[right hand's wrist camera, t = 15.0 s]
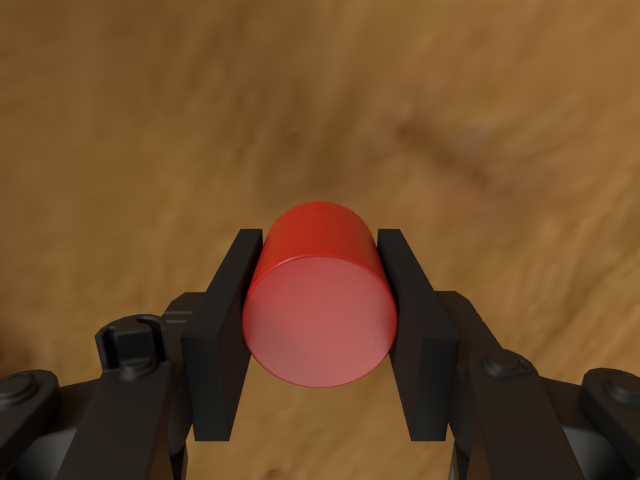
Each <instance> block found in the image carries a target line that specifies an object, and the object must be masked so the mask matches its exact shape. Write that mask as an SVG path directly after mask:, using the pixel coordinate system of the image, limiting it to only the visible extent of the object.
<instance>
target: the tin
mask: <svg viewBox="0 0 640 480" xmlns="http://www.w3.org/2000/svg"><path fill="white" fill-rule="evenodd" d="M241 320H242V332H243V337H244V340H245V342H246V344H247V347H248V349H249V350H250V352H251V354H252V355H253V357H254V358H255V359H256V360H257V362H258V363H259V364H260V365H261V366H262V367H263V368H265V369H266V370H267V371H268V372H270V373H271V374H273V375H274V376H276V377H278V378H280V379H282V380H284V381H286V382H289V383H292V384H295V385H299V386H304V387H312V388H327V387H335V386H340V385H344V384H347V383H350V382H353V381H355V380H357V379H360V378H361V377H363V376H365V375H366V374H368V373H369V372H371V371H372V370H373V369H375V368H376V367H377V366H378V365H379V364H380V363H381V362H382V361H383V359H384V358H385V357H386V356H387V354H388V353H389V351H390V349H391V347H392V345H393V343H394V340H395V338H396V334H397V329H398V311H397V306H396V302H395V299H394V296H393V293H392V291H391V288H390V285H389V282H388V279H387V276H386V273H385V270H384V267H383V264H382V262H381V259H380V256H379V253H378V250H377V247H376V244H375V241H374V239H373V236H372V233H371V231H370V230H369V228H368V226H367V225H366V224H365V222H364V221H363V220H362V219H361V218H360V217H359V216H358V215H357V214H355V213H354V212H353V211H351V210H349V209H347V208H346V207H343V206H341V205H338V204H334V203H329V202H310V203H305V204H301V205H299V206H296V207H294V208H292V209H290V210H288V211H287V212H285V213H284V214H283V215H281V216H280V217H279V218H278V219H277V220H276V221H275V223H274V224H273V225H272V227H271V228H270V230H269V232H268V234H267V237H266V239H265V242H264V245H263V248H262V251H261V254H260V257H259V260H258V262H257V265H256V268H255V271H254V274H253V277H252V280H251V283H250V286H249V288H248V291H247V294H246V297H245V300H244V303H243V307H242V312H241Z"/></svg>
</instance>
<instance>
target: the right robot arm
mask: <svg viewBox="0 0 640 480" xmlns="http://www.w3.org/2000/svg"><path fill="white" fill-rule="evenodd" d="M262 248H263V235H262V229H240V231H239V233H238V235H237V237H236V238H235V240H234V242H233V244H232V245H231V247H230V249H229V251H228V253H227V254H226V256H225V258H224V260H223V262H222V263H221V265H220V267H219V269H218V271H217V272H216V274H215V276H214V278H213V280H212V281H211V283H210V285H209V287H208V288H207V290H206V292H185V293H183V294H182V295H181V296H179V297H178V298H176V299H175V300H173V301H172V302H171V303H170V305H169V306H168V308H167V309H166V310H165V312H164V314H163V315H162V316H161V317H160V316H156V315H152V314H138V315H133V316H127V317H124V318H121V319H118V320H116V321H113V322H111V323H109V324H108V325H106V326H104V327H103V328H101V329H100V331H99V332H98V333H97V334H96V335H95V340H96V344H97V348H98V353H99V357H100V361H101V365H102V370H103V372H102V375H101V377H100V378H99V379H95V380H91V381H87V382H82V383H78V384H73V385H68V386H63V387H60V386H59V383H58V379H57V376H56V375H54V374H53V373H52V372H51V371H46V370H40V369H39V370H29V371H23V372H19V373H15V374H12V375H9V376H7V377H6V378H3V379H1V380H0V480H186V471H187V463H188V454H187V447H186V439H187V436H188V433H189V431H190V428H191V425H192V424H193V431H194V437H195V441H229V439H230V435H231V431H232V427H233V423H234V420H235V416H236V412H237V408H238V404H239V400H240V396H241V392H242V388H243V384H244V381H245V377H246V373H247V369H248V365H249V361H250V357H251V352H250V350H249V349H248V347H247V344H246V342H245V340H244V337H243V332H242V320H241V312H242V307H243V303H244V300H245V297H246V294H247V291H248V288H249V286H250V283H251V280H252V277H253V274H254V271H255V268H256V265H257V262H258V260H259V257H260V254H261V251H262ZM377 250H378V253H379V256H380V259H381V262H382V264H383V267H384V270H385V273H386V276H387V279H388V282H389V285H390V288H391V291H392V293H393V296H394V299H395V302H396V306H397V311H398V329H397V334H396V338H395V340H394V343H393V345H392V347H391V349H390V351H389V356H390V360H391V364H392V368H393V372H394V376H395V380H396V383H397V387H398V391H399V395H400V399H401V403H402V407H403V411H404V415H405V419H406V422H407V426H408V430H409V434H410V438H411V441H445V439H446V432H447V426H448V423H449V425H450V428H451V430H452V433H453V436H454V438H455V441H454V447H453V453H452V460H451V466H450V472H449V479H448V480H454V479H455V480H640V378H639V377H637V376H635V375H633V374H631V373H628V372H625V371H624V372H623V371H621V370H617V369H609V368H596V369H591V370H589V371H588V372H587V373H586V374H584V377H583V381H582V384H581V385H576V384H571V383H566V382H561V381H557V380H552V379H548V378H544V377H541V376H539V374H538V372H537V370H536V369H535V367H534V366H533V365H532V363H531V362H529V361H528V360H527V359H525V358H524V357H522V356H521V355H519V354H517V353H514V352H512V351H510V350H507V349H502V347H501V346H500V344H499V343H498V341H497V340H496V338H495V337H494V336H493V334H492V333H491V331H490V330H489V328H488V327H487V326H486V324H485V323H484V322H482V318H481V317H480V316H479V314H478V313H476V310H475V308H474V307H473V305H472V304H471V303H470V301H469V300H468V299H466V298H465V297H463V296H462V295H460V294H459V293H457V292H456V291H434V290H433V288H432V286H431V284H430V283H429V281H428V279H427V277H426V275H425V274H424V272H423V270H422V268H421V267H420V265H419V263H418V261H417V259H416V258H415V256H414V254H413V252H412V250H411V249H410V247H409V245H408V243H407V241H406V240H405V238H404V236H403V234H402V232H401V231H400V229H378V240H377Z"/></svg>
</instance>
